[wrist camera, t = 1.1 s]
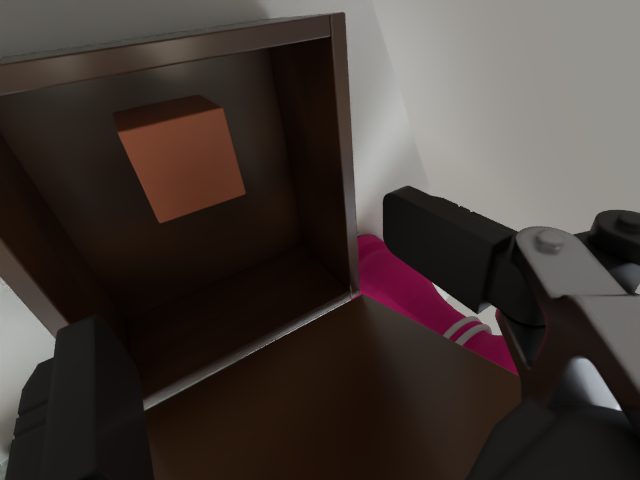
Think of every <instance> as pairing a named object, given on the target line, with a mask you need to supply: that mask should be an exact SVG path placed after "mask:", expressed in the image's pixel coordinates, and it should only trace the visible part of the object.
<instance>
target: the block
mask: <svg viewBox="0 0 640 480" xmlns="http://www.w3.org/2000/svg"><path fill="white" fill-rule="evenodd" d="M113 118H114V122H115V125H116V129H117V133H118V135H119V137H120V140H121V142H122V144H123V146H124V148H125V150H126V152H127V155H128V157H129V159H130V161H131V163H132V165H133V168H134V170H135V172H136V174H137V176H138V178H139V181H140V183H141V185H142V187H143V189H144V191H145V194H146V196H147V198H148V200H149V202H150V204H151V207H152V209H153V211H154V213H155V215H156V217H157V219H158V222H159V223H164V222H166V221H169V220H172V219H175V218H178V217H181V216H184V215H187V214H190V213H193V212H195V211H198V210H201V209H204V208H207V207H210V206H213V205H216V204H219V203H221V202H224V201H227V200H230V199H233V198H236V197H239V196H242V195H245V193H246V192H245V189H244V185H243V181H242V177H241V174H240V170H239V166H238V162H237V159H236V155H235V151H234V147H233V144H232V140H231V136H230V132H229V129H228V125H227V121H226V117H225V114H224V110H223V108H222V107H221V106H219V105H217V104H215V103H213V102H212V101H210V100H208V99H206V98H204V97H202V96H201V95H194V96H189V97H184V98H180V99H175V100H171V101H166V102H161V103H157V104H152V105H148V106H143V107H138V108H134V109H129V110H125V111H120V112H115V113H113Z"/></svg>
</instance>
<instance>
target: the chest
mask: <svg viewBox="0 0 640 480" xmlns="http://www.w3.org/2000/svg"><path fill="white" fill-rule="evenodd" d="M194 95H201V96H202V97H204V98H206V99H208V100H210V101H212V102H213V103H215V104H217V105H219V106H221V107H222V108H223V110H224V114H225V117H226V121H227V125H228V129H229V132H230V136H231V140H232V144H233V147H234V151H235V155H236V159H237V162H238V166H239V170H240V174H241V177H242V181H243V185H244V189H245V192H246V193H245V195H242V196H239V197H236V198H233V199H230V200H227V201H224V202H221V203H219V204H216V205H213V206H210V207H207V208H204V209H201V210H198V211H195V212H193V213H190V214H187V215H184V216H181V217H178V218H175V219H172V220H169V221H166V222H164V223H159V222H158V219H157V217H156V215H155V213H154V211H153V209H152V207H151V204H150V202H149V200H148V198H147V196H146V194H145V191H144V189H143V187H142V185H141V183H140V181H139V178H138V176H137V174H136V172H135V170H134V168H133V165H132V163H131V161H130V159H129V157H128V155H127V152H126V150H125V148H124V146H123V144H122V142H121V140H120V137H119V135H118V133H117V129H116V125H115V122H114V118H113V113H115V112H120V111H125V110H129V109H134V108H138V107H143V106H148V105H152V104H157V103H161V102H166V101H171V100H175V99H180V98H184V97H189V96H194ZM0 277H1V278H2V279H3V280H4V281H5V282H6V283H7V285H8V286H9V287H10V288H11V289H12V290H13V291H14V292H15V294H16V295H17V296H18V297H19V298H20V299H21V300H22V301H23V303H24V304H25V305H26V306H27V307H28V308H29V309H30V310H31V312H32V313H33V314H34V315H35V316H36V317H37V318H38V319H39V321H40V322H41V323H42V324H43V325H44V326H45V327H46V328H47V330H48V331H49V332H50V333H51V334H52V335H53V336H54V337H55V339H56V334H57V331H58V330H59V329H61V328H63V327H65V326H68V325H70V324H73V323H75V322H77V321H80V320H82V319H85V318H87V317H89V316H92V315H94V314H97V313H98V314H100V315H101V316H102V317H103V318H104V319H105V320H106V322H107V323H108V324H109V326H110V327H111V329H112V330H113V331H114V333H115V334H116V336H117V337H118V338H119V340H120V341H121V342H122V344H123V345H124V347H125V348H126V349H127V351H128V352H129V354H130V355H131V357H132V359H133V360H134V363H135V365H136V367H137V370H138V373H139V377H140V382H141V389H142V396H143V403H144V409H145V408H147V407H149V406H151V405H153V404H155V403H157V402H158V401H160V400H162V399H164V398H166V397H168V396H170V395H172V394H173V393H175V392H177V391H179V390H181V389H183V388H185V387H187V386H189V385H190V384H192V383H194V382H196V381H198V380H200V379H202V378H204V377H205V376H207V375H209V374H211V373H213V372H215V371H217V370H219V369H220V368H222V367H224V366H226V365H228V364H230V363H232V362H234V361H235V360H237V359H239V358H241V357H243V356H245V355H247V354H249V353H250V352H252V351H254V350H256V349H258V348H260V347H262V346H264V345H265V344H267V343H269V342H271V341H273V340H275V339H277V338H279V337H280V336H282V335H284V334H286V333H288V332H290V331H292V330H294V329H295V328H297V327H299V326H301V325H303V324H305V323H307V322H309V321H311V320H312V319H314V318H316V317H318V316H320V315H322V314H324V313H326V312H327V311H329V310H331V309H333V308H335V307H337V306H339V305H341V304H342V303H344V302H346V301H348V300H350V299H351V298H354V297H356V296H358V295H359V294H360V279H359V260H358V242H357V224H356V206H355V187H354V169H353V151H352V133H351V114H350V96H349V78H348V60H347V41H346V23H345V13H344V12H340V13H329V14H318V15H306V16H295V17H284V18H273V19H265V20H258V21H251V22H244V23H238V24H231V25H224V26H217V27H210V28H203V29H196V30H189V31H182V32H175V33H168V34H162V35H155V36H148V37H141V38H134V39H127V40H120V41H113V42H106V43H99V44H93V45H86V46H79V47H72V48H65V49H58V50H51V51H44V52H37V53H30V54H23V55H17V56H10V57H3V58H0Z"/></svg>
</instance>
